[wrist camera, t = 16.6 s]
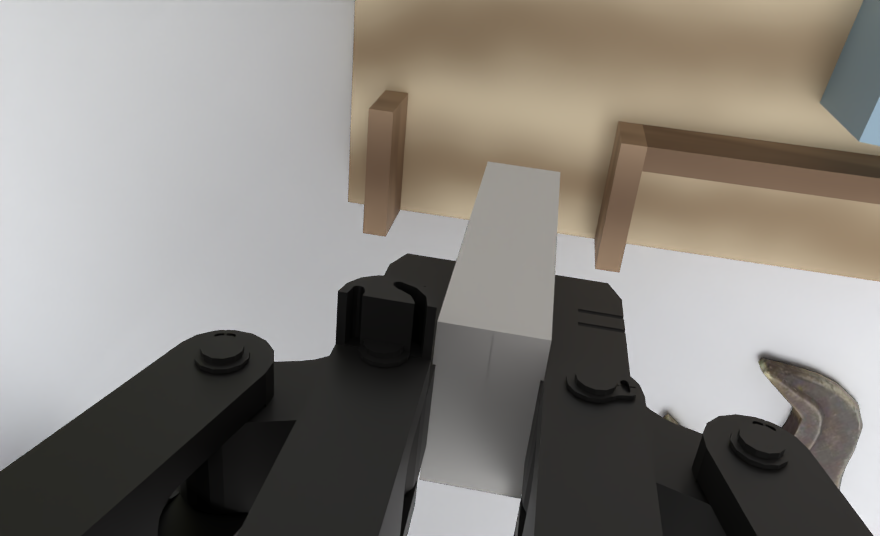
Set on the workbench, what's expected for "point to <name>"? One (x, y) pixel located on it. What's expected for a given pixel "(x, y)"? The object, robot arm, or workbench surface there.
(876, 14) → the block
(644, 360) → the workbench surface
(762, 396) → the workbench surface
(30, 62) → the workbench surface
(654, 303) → the workbench surface
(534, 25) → the tan flat ridged piece
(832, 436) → the wrench
